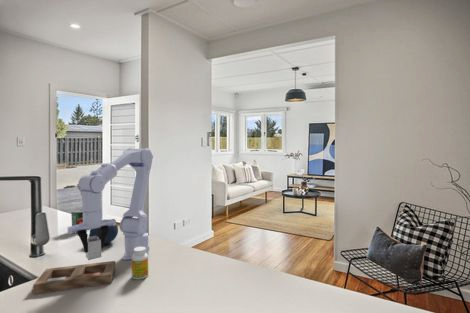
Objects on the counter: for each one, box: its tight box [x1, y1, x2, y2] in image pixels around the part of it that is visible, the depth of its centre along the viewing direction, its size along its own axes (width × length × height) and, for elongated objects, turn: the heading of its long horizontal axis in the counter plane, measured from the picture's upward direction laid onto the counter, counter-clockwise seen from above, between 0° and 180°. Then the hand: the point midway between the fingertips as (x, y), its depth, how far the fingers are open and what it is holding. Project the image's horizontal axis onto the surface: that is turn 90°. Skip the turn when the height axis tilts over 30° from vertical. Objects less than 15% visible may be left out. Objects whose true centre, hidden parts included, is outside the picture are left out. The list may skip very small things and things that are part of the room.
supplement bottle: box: [131, 247, 149, 280], centre depth 96 cm, size 5×5×10 cm
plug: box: [85, 236, 102, 261], centre depth 95 cm, size 4×4×7 cm
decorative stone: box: [88, 223, 119, 246], centre depth 127 cm, size 12×12×10 cm
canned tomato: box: [70, 208, 88, 232], centre depth 145 cm, size 8×8×11 cm
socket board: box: [32, 260, 116, 295], centre depth 94 cm, size 22×11×3 cm, turn 107°
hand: (93, 249), depth 95 cm, fingers closed on plug, 4 cm apart
